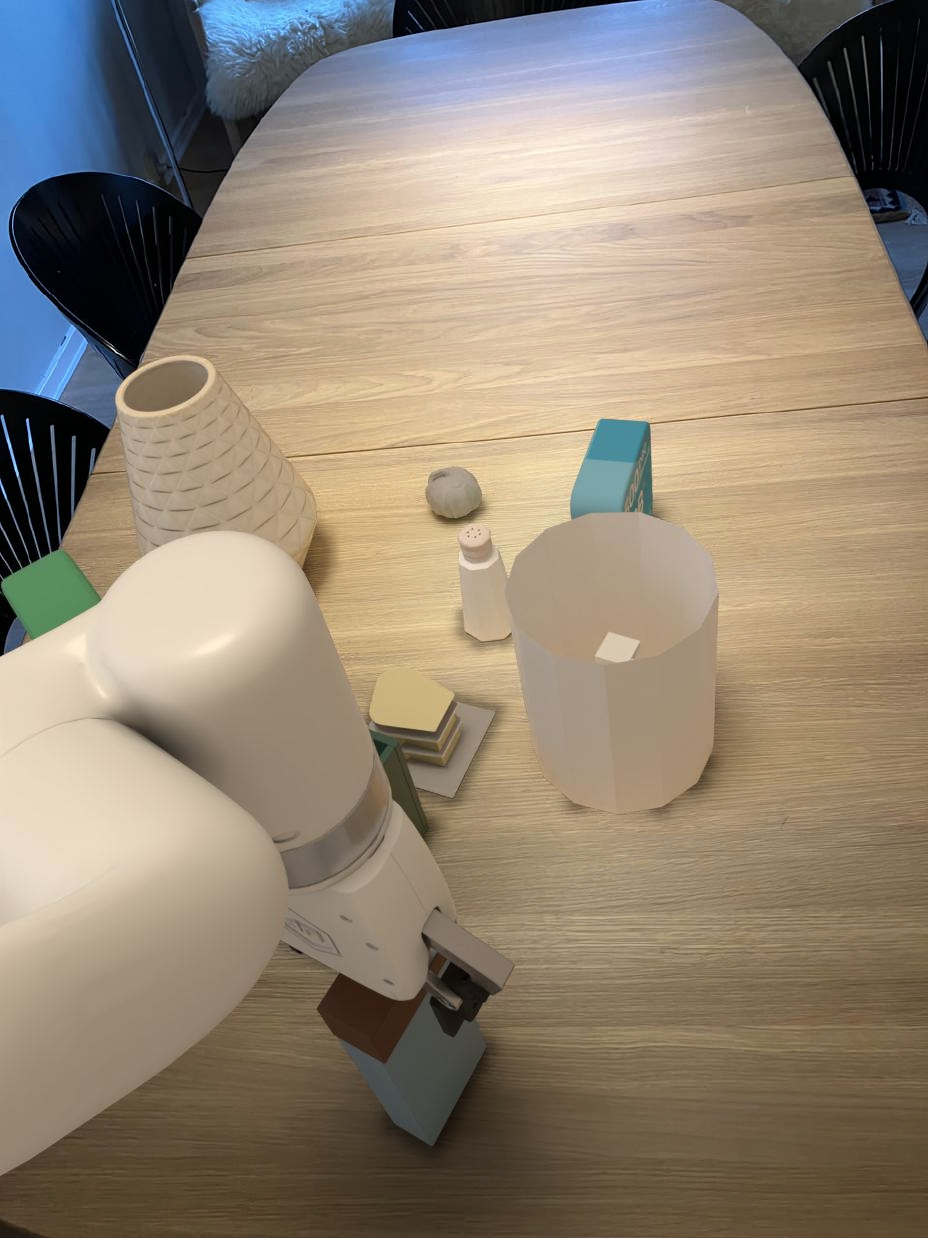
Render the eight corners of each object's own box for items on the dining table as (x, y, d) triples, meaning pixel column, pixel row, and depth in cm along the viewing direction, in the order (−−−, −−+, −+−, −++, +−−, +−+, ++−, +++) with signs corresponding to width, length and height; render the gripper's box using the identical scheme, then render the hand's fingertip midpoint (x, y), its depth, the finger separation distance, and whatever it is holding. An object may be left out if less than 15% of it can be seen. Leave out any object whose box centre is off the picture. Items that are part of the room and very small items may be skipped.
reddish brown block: (385, 1065, 54) (370, 1040, 51) (332, 1034, 55) (315, 1009, 53) (453, 950, 58) (442, 922, 55) (401, 924, 59) (388, 895, 57)
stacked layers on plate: (496, 712, 87) (486, 671, 83) (452, 798, 82) (441, 759, 78) (392, 685, 91) (378, 644, 87) (345, 766, 86) (328, 727, 82)
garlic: (418, 521, 105) (408, 482, 101) (441, 487, 108) (432, 448, 104) (471, 532, 103) (463, 492, 99) (493, 497, 106) (486, 457, 102)
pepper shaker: (453, 637, 94) (432, 550, 86) (475, 594, 97) (455, 507, 89) (509, 648, 92) (492, 560, 84) (529, 604, 95) (514, 515, 87)
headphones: (53, 712, 95) (-61, 558, 81) (158, 649, 99) (67, 490, 84) (133, 848, 84) (17, 697, 69) (249, 772, 87) (162, 612, 73)
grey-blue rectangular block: (432, 1147, 65) (381, 1063, 54) (393, 1123, 66) (336, 1036, 55) (487, 1046, 69) (449, 948, 58) (449, 1026, 70) (405, 926, 59)
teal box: (627, 603, 93) (621, 503, 84) (579, 596, 95) (568, 498, 86) (653, 513, 100) (650, 413, 92) (608, 509, 102) (600, 410, 93)
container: (671, 840, 77) (668, 690, 64) (501, 775, 83) (467, 627, 70) (736, 696, 84) (746, 537, 71) (577, 647, 91) (559, 492, 77)
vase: (236, 668, 95) (140, 477, 79) (132, 592, 105) (26, 407, 88) (369, 557, 103) (307, 360, 86) (260, 495, 112) (185, 307, 95)
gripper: (86, 791, 44) (221, 959, 57) (423, 965, 36) (492, 1115, 49) (197, 665, 48) (300, 848, 61) (523, 798, 40) (563, 976, 53)
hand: (386, 967), depth 55 cm, fingers open, 9 cm apart
